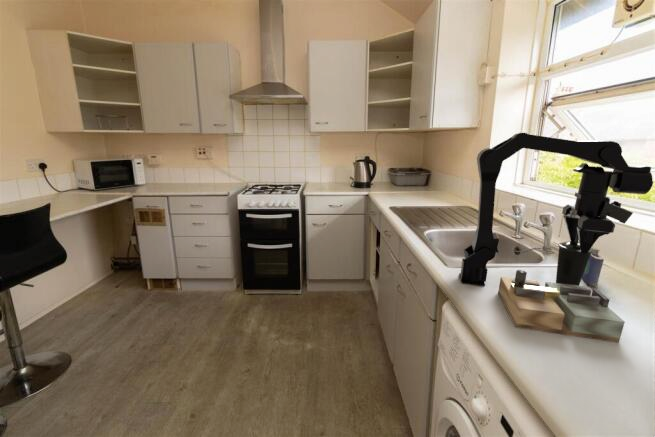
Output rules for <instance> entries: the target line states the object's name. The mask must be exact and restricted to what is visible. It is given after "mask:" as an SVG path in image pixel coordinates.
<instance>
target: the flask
mask: <svg viewBox="0 0 655 437" xmlns="http://www.w3.org/2000/svg"><path fill="white" fill-rule="evenodd" d="M591 248H592V249H593V252H592V253H591V255H590V257H589V260H588V263H587V265H586V268H585V271H584V274H583V276H582V279H581V280H582V281H583V282H584V283H585V285H587V286H588V287H591V288H592V287H594V288H598V283H599V279H600V276H601V270H602V267H603V264H604V260H605V259H604V257H602V256H601V255H600V254H599V253H600V251H601V249H599V248H598V249H597V248H596V247H591Z"/></svg>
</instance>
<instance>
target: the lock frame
mask: <svg viewBox="0 0 655 437" xmlns="http://www.w3.org/2000/svg"><path fill="white" fill-rule="evenodd" d="M514 282H515V277H514V278H513V277H504V276H500V281H499V285H498V290H497V292H498V296H499V298H500V299H501V302H502V303H503V305H504V308H505V309H506V311H507V313H508V315H509V316H510V318H511V321H512V322H513V324H514V327H515V328H519V329H525V330H531V331H533V330H534V331H539V332H544V333H545V332H546V333H552V334H560V335H566V336H573V337H581V338H587V339H588V338H589V339H594V340H602V341H605V342H607V341H608V342H613V343H614V342H615V343H620V340H621V336H622V334H623V329H624V326H625V323H626V321H625V320H623V319H622V318H621V317H620V316H619V315H618V314H617V313H616V312H614V311H613V309H611V308H610V307H609V304H610V299H609V297H607V296H606V295H605V294H604V293H603V292H602V291H600V290H599V289H597V288H596V289H594V288H593V289H590V288H588V287H586V286H584V285H580V284H579V285H570V284H561V283H556V282H551V281H550V282H549V281H545V283H544V287H550V288H556V289H557V290H558V291H559V292H560V296H559V299H558V298H549V297H545V294H546V292H545V290H538V289H530V288H521V287H516V293H512V291H511V289H510V286H511V283H514ZM525 285H533V286H542V285H541V283H540V282H539V281H538V280H534V279H533V280H532V279H526V280H525Z"/></svg>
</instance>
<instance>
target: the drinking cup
mask: <svg viewBox="0 0 655 437" xmlns="http://www.w3.org/2000/svg"><path fill="white" fill-rule="evenodd" d="M578 227H579V226H578ZM592 248H593V247H591V249H590V250H589V251H588V253H587V254H583V253H581V249H580V243H579V237H578V232H577V235H576V239H575V242H573V241H571V240H569V241H564V242H563V241H562V242H560V243H558V257H557V267H556V275H555V276H556V277H555V283H561V284H570V285H579V286H580V284H581V282H582V280H583V279H582V276H583V274H584V271H585V268H586V265H587V263H588V260H589V257H590V255H591V253H592V252H593V249H594V248H593V249H592Z"/></svg>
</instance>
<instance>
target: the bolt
mask: <svg viewBox="0 0 655 437" xmlns="http://www.w3.org/2000/svg"><path fill="white" fill-rule="evenodd" d="M514 278H515V282H514V283H511V286H510V289H511V291H512V293H516V287H521V288H530V289H538V290H545V292H546V294H545V297H549V298H558V299H559V296H560V292H559V291H558V290H557V289H556V288H550V287H545V286H542V285H541V286H533V285H525V280H527V279H526V278H527V272H526V271H525V270H522V269H517V270H516V272H515V277H514Z"/></svg>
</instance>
